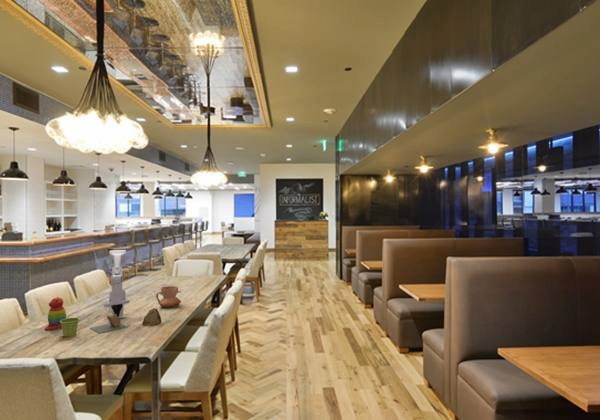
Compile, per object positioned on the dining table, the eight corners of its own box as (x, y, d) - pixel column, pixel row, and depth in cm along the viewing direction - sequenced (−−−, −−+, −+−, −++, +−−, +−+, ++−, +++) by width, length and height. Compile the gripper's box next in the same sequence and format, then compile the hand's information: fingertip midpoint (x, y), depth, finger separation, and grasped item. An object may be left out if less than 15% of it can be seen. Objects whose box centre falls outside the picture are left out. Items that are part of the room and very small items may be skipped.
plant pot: (75, 331, 215) (75, 316, 215) (82, 334, 209) (82, 319, 209) (57, 335, 208) (57, 320, 208) (63, 339, 202) (63, 323, 202)
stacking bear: (48, 325, 226) (49, 296, 226) (68, 323, 229) (68, 295, 229) (43, 331, 216) (43, 300, 216) (63, 329, 219) (63, 299, 219)
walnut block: (111, 325, 225) (106, 315, 223) (116, 322, 228) (111, 312, 226) (115, 327, 221) (110, 317, 219) (120, 323, 224) (116, 313, 222)
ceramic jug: (183, 303, 280) (183, 284, 280) (179, 308, 266) (179, 288, 266) (158, 304, 278) (158, 285, 278) (153, 309, 263) (153, 289, 264)
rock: (137, 322, 225) (153, 320, 224) (140, 309, 230) (156, 307, 229) (146, 328, 233) (161, 327, 232) (149, 315, 239) (164, 314, 238)
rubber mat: (89, 328, 220) (89, 327, 220) (117, 322, 233) (117, 321, 233) (99, 333, 211) (99, 332, 211) (127, 326, 224) (127, 326, 224)
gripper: (107, 297, 217) (107, 320, 217) (131, 293, 229) (131, 315, 228) (102, 296, 222) (102, 318, 222) (126, 292, 233) (126, 313, 233)
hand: (116, 317), depth 225 cm, fingers closed
